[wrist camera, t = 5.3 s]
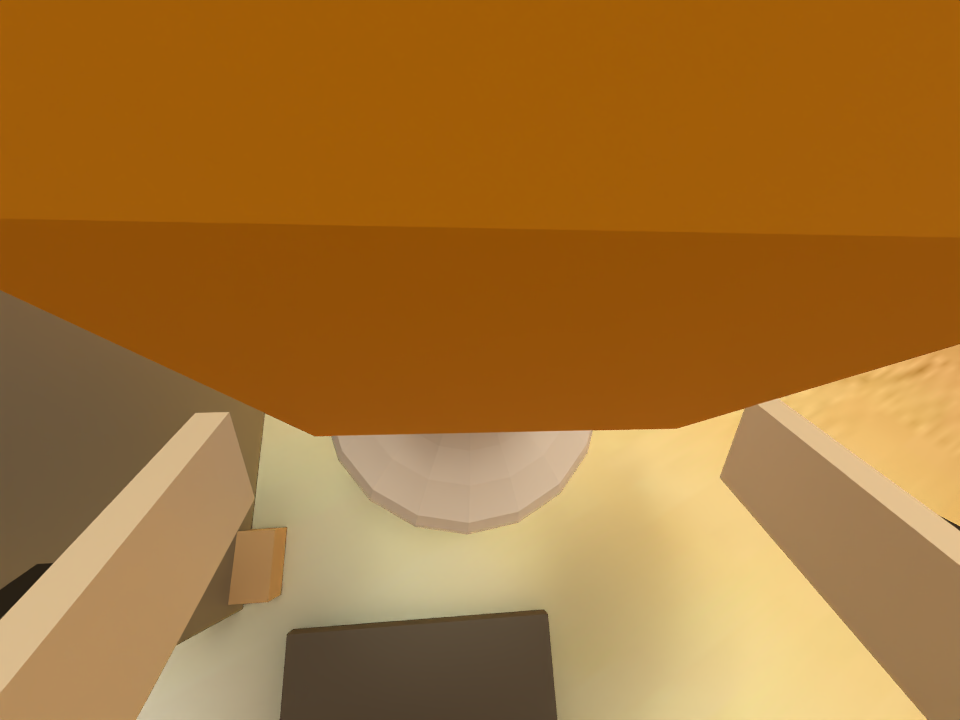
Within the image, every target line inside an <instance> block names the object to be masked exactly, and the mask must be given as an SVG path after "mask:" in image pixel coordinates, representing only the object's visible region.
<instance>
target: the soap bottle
mask: <svg viewBox="0 0 960 720" xmlns="http://www.w3.org/2000/svg"><path fill="white" fill-rule="evenodd" d="M0 290H1V291H3V292H5V293H7V294H9V295H12V296H14V297H16V298H18V299H20V300H22V301H25V302H27V303H29V304H31V305H33V306H35V307H37V308H40V309H42V310H44V311H46V312H48V313H50V314H53V315H55V316H57V317H59V318H61V319H63V320H65V321H68V322H70V323H72V324H74V325H76V326H78V327H81V328H83V329H85V330H87V331H89V332H91V333H94V334H96V335H98V336H100V337H102V338H104V339H106V340H109V341H111V342H113V343H115V344H117V345H119V346H122V347H124V348H126V349H128V350H130V351H132V352H134V353H137V354H139V355H141V356H143V357H145V358H147V359H150V360H152V361H154V362H156V363H158V364H160V365H162V366H165V367H167V368H169V369H171V370H173V371H175V372H178V373H180V374H182V375H184V376H186V377H188V378H190V379H193V380H195V381H197V382H199V383H201V384H203V385H206V386H208V387H210V388H212V389H214V390H216V391H218V392H221V393H223V394H225V395H227V396H229V397H231V398H234V399H236V400H238V401H240V402H242V403H244V404H246V405H249V406H251V407H253V408H255V409H257V410H259V411H262V412H264V413H266V414H268V415H270V416H272V417H274V418H277V419H279V420H281V421H283V422H285V423H287V424H290V425H292V426H294V427H296V428H298V429H300V430H302V431H305V432H307V433H309V434H311V435H313V436H332V440H333V443H334V447H335V450H336V453H337V457H338V460H339V461H340V463H341V464H342V465H343V466H344V468H345V469H346V470H347V471H348V473H349V474H350V475H351V477H352V478H353V479H354V480H355V482H356V483H357V484H358V486H359V487H360V488H361V489H362V491H363V492H364V493H365V494H366V496H367V497H368V498H369V500H371V501H372V502H374V503H376V504H378V505H379V506H381V507H383V508H384V509H386V510H388V511H390V512H391V513H393V514H395V515H396V516H398V517H400V518H402V519H403V520H405V521H407V522H409V523H410V524H412V525H414V526H416V527H423V528H429V529H436V530H443V531H450V532H456V533H463V534H470V533H475V532H479V531H483V530H488V529H492V528H496V527H500V526H505V525H509V524H513V523H518V522H520V521H521V520H522V519H524V518H525V517H527V516H528V515H530V514H531V513H533V512H534V511H536V510H537V509H538V508H540V507H541V506H543V505H544V504H546V503H547V502H549V501H550V500H551V499H553V498H554V497H556V496H557V495H559V494H560V493H561V491H562V490H563V488H564V487H565V485H566V484H567V483H568V481H569V480H570V478H571V477H572V475H573V474H574V472H575V471H576V469H577V468H578V466H579V465H580V463H581V462H582V460H583V459H584V457H585V456H586V454H587V452H588V448H589V444H590V439H591V435H592V431H593V430H631V429H677V428H680V427H684V426H687V425H690V424H694V423H697V422H700V421H704V420H707V419H710V418H714V417H717V416H720V415H724V414H727V413H731V412H734V411H737V410H741V409H744V408H747V407H751V406H754V405H757V404H761V403H764V402H767V401H771V400H774V399H777V398H781V397H784V396H787V395H791V394H794V393H798V392H801V391H804V390H808V389H811V388H814V387H818V386H821V385H824V384H828V383H831V382H834V381H838V380H841V379H844V378H848V377H851V376H854V375H858V374H861V373H865V372H868V371H871V370H875V369H878V368H881V367H885V366H888V365H891V364H895V363H898V362H901V361H905V360H908V359H911V358H915V357H918V356H921V355H925V354H928V353H931V352H935V351H938V350H942V349H945V348H948V347H952V346H955V345H958V344H960V0H0Z"/></svg>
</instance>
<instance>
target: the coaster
mask: <svg viewBox="0 0 960 720" xmlns="http://www.w3.org/2000/svg"><path fill="white" fill-rule="evenodd" d="M280 720H557V712H556V701H555V690H554V678H553V667H552V656H551V645H550V633H549V622H548V614H547V613H546V611H545V610H534V611H521V612H508V613H496V614H483V615H470V616H457V617H444V618H432V619H419V620H406V621H393V622H381V623H368V624H355V625H342V626H330V627H317V628H304V629H293V630H292V631H291V632H290V633H288V634H287V641H286V653H285V665H284V678H283V690H282V702H281V714H280Z"/></svg>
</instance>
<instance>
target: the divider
mask: <svg viewBox="0 0 960 720" xmlns="http://www.w3.org/2000/svg"><path fill="white" fill-rule="evenodd" d="M211 412H229V413H230V416H231V419H232V423H233V426H234V430H235V433H236V436H237V440H238V443H239V446H240V450H241V453H242V457H243V460H244V463H245V467H246V470H247V474H248V477H249V480H250V484H251V487H252V490H253V494H254V497H255V493H256V485H257V476H258V467H259V458H260V449H261V440H262V431H263V422H264V414H265V413H264V412H262V411H259V410H257V409H255V408H253V407H251V406H249V405H246V404H244V403H242V402H240V401H238V400H236V399H234V398H231V397H229V396H227V395H225V394H223V393H221V392H218V391H216V390H214V389H212V388H210V387H208V386H206V385H203V384H201V383H199V382H197V381H195V380H193V379H190V378H188V377H186V376H184V375H182V374H180V373H178V372H175V371H173V370H171V369H169V368H167V367H165V366H162V365H160V364H158V363H156V362H154V361H152V360H150V359H147V358H145V357H143V356H141V355H139V354H137V353H134V352H132V351H130V350H128V349H126V348H124V347H122V346H119V345H117V344H115V343H113V342H111V341H109V340H106V339H104V338H102V337H100V336H98V335H96V334H94V333H91V332H89V331H87V330H85V329H83V328H81V327H78V326H76V325H74V324H72V323H70V322H68V321H65V320H63V319H61V318H59V317H57V316H55V315H53V314H50V313H48V312H46V311H44V310H42V309H40V308H37V307H35V306H33V305H31V304H29V303H27V302H25V301H22V300H20V299H18V298H16V297H14V296H12V295H9V294H7V293H5V292H3V291H1V290H0V589H2V588H3V587H5V586H6V585H7V584H9V583H10V582H12V581H13V580H15V579H16V578H18V577H19V576H20V575H22V574H23V573H25V572H26V571H28V570H29V569H30V568H32V567H33V566H35V565H36V564H45V563H54V562H55V561H56V560H57V559H58V558H59V557H60V556H61V555H62V554H63V553H64V552H65V551H66V550H67V549H68V547H69V546H70V545H71V544H72V543H73V542H74V541H75V540H76V539H77V538H78V537H79V536H80V535H81V534H82V533H83V532H84V530H85V529H86V528H87V527H88V526H89V525H90V524H91V523H92V522H93V521H94V520H95V519H96V518H97V517H98V516H99V515H100V514H101V512H102V511H103V510H104V509H105V508H106V507H107V506H108V505H109V504H110V503H111V502H112V501H113V500H114V499H115V498H116V497H117V495H118V494H119V493H120V492H121V491H122V490H123V489H124V488H125V487H126V486H127V485H128V484H129V483H130V482H131V481H132V480H133V479H134V477H135V476H136V475H137V474H138V473H139V472H140V471H141V470H142V469H143V468H144V467H145V466H146V465H147V464H148V463H149V462H150V460H151V459H152V458H153V457H154V456H155V455H156V454H157V453H158V452H159V451H160V450H161V449H162V448H163V447H164V446H165V445H166V444H167V442H168V441H169V440H170V439H171V438H172V437H173V436H174V435H175V434H176V433H177V432H178V431H179V430H180V429H181V428H182V427H183V425H184V424H185V423H186V422H187V421H188V420H189V419H190V418H191V417H192V416H193V415H194V414H195V413H211ZM254 502H255V499H254V501H253V503H252V505H251V507H250V509H249V510H248V512H247V514H246V516H245V518H244V520H243V522H242V523H241V525H240V527H239V529H238V531H237V533H236V535H235V536H234V538H233V540H232V542H231V544H230V546H229V548H228V549H227V551H226V553H225V555H224V557H223V559H222V561H221V562H220V564H219V566H218V568H217V570H216V572H215V574H214V576H213V577H212V579H211V581H210V583H209V585H208V587H207V589H206V590H205V592H204V594H203V596H202V598H201V600H200V602H199V603H198V605H197V607H196V609H195V611H194V613H193V615H192V616H191V618H190V620H189V622H188V624H187V626H186V628H185V629H184V631H183V633H182V635H181V637H180V639H179V641H178V642H177V644H176V645H178V644H180V643H181V642H183V641H185V640H187V639H189V638H191V637H192V636H194V635H196V634H198V633H200V632H202V631H203V630H205V629H207V628H209V627H211V626H212V625H214V624H216V623H218V622H220V621H222V620H223V619H225V618H227V617H229V616H231V615H233V614H234V613H236V612H238V611H240V610H242V609H243V604H247V603H261V602H269V601H271V600H272V599H274V598H276V597H278V596H279V595H281V588H282V576H283V565H284V554H285V542H286V531H287V527H283V528H266V529H252V520H253V511H254Z"/></svg>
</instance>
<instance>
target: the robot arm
mask: <svg viewBox="0 0 960 720" xmlns="http://www.w3.org/2000/svg"><path fill="white" fill-rule="evenodd" d="M720 479H721V480H722V481H723V482H724V483H725V484H726V486H727V487H728V488H729V489H730V490H731V491H732V493H733V494H734V495H735V496H736V497H737V498H738V499H739V501H740V502H741V503H742V504H743V505H744V506H745V508H746V509H747V510H748V511H749V512H750V513H751V515H752V516H753V517H754V518H755V519H756V520H757V522H758V523H759V524H760V525H761V526H762V527H763V529H764V530H765V531H766V532H767V533H768V534H769V536H770V537H771V538H772V539H773V540H774V541H775V543H776V544H777V545H778V546H779V547H780V548H781V550H782V551H783V552H784V553H785V554H786V555H787V557H788V558H789V559H790V560H791V561H792V562H793V564H794V565H795V566H796V567H797V568H798V569H799V571H800V572H801V573H802V574H803V575H804V576H805V578H806V579H807V580H808V581H809V582H810V583H811V585H812V586H813V587H814V588H815V589H816V590H817V592H818V593H819V594H820V595H821V596H822V597H823V599H824V600H825V601H826V602H827V603H828V604H829V605H830V607H831V608H832V609H833V610H834V611H835V612H836V614H837V615H838V616H839V617H840V618H841V619H842V621H843V622H844V623H845V624H846V625H847V626H848V628H849V629H850V630H851V631H852V632H853V633H854V635H855V636H856V637H857V638H858V639H859V640H860V642H861V643H862V644H863V645H864V646H865V647H866V649H867V650H868V651H869V652H870V653H871V654H872V656H873V657H874V658H875V659H876V660H877V661H878V663H879V664H880V665H881V666H882V667H883V668H884V670H885V671H886V672H887V673H888V674H889V675H890V677H891V678H892V679H893V680H894V681H895V682H896V684H897V685H898V686H899V687H900V688H901V689H902V691H903V692H904V693H905V694H906V695H907V696H908V698H909V699H910V700H911V701H912V702H913V703H914V704H915V706H916V707H917V708H918V709H919V710H920V711H921V713H922V714H923V715H924V716H925V717H926V718H927V720H960V526H958V525H956V524H954V523H952V522H950V521H948V520H947V519H945V518H943V517H941V516H939V515H937V514H936V513H935V512H933V511H932V510H931V509H929V508H928V507H926V506H925V505H924V504H922V503H921V502H920V501H918V500H917V499H915V498H914V497H913V496H911V495H910V494H909V493H907V492H906V491H904V490H903V489H902V488H900V487H899V486H898V485H896V484H895V483H893V482H892V481H891V480H889V479H888V478H887V477H885V476H884V475H883V474H881V473H880V472H878V471H877V470H876V469H874V468H873V467H872V466H870V465H869V464H867V463H866V462H865V461H863V460H862V459H861V458H859V457H858V456H856V455H855V454H854V453H852V452H851V451H850V450H848V449H847V448H845V447H844V446H843V445H841V444H840V443H839V442H837V441H836V440H834V439H833V438H832V437H830V436H829V435H828V434H826V433H825V432H823V431H822V430H821V429H819V428H818V427H817V426H815V425H814V424H813V423H811V422H810V421H808V420H807V419H806V418H804V417H803V416H802V415H800V414H799V413H797V412H796V411H795V410H793V409H792V408H791V407H789V406H788V405H786V404H785V403H784V402H782V401H781V400H780V399H778V398H777V399H774V400H771V401H767V402H764V403H761V404H757V405H754V406H751V407H747V408H745V409H744V412H743V415H742V417H741V420H740V423H739V426H738V428H737V431H736V434H735V437H734V439H733V442H732V445H731V448H730V450H729V453H728V456H727V459H726V461H725V464H724V467H723V470H722V472H721V475H720ZM254 499H255V497H254V494H253V490H252V487H251V484H250V480H249V477H248V474H247V470H246V467H245V463H244V460H243V457H242V453H241V450H240V446H239V443H238V440H237V436H236V433H235V430H234V426H233V423H232V419H231V416H230V413H229V412H211V413H195V414H194V415H193V416H192V417H191V418H190V419H189V420H188V421H187V422H186V423H185V424H184V425H183V427H182V428H181V429H180V430H179V431H178V432H177V433H176V434H175V435H174V436H173V437H172V438H171V439H170V440H169V441H168V442H167V444H166V445H165V446H164V447H163V448H162V449H161V450H160V451H159V452H158V453H157V454H156V455H155V456H154V457H153V458H152V459H151V460H150V462H149V463H148V464H147V465H146V466H145V467H144V468H143V469H142V470H141V471H140V472H139V473H138V474H137V475H136V476H135V477H134V479H133V480H132V481H131V482H130V483H129V484H128V485H127V486H126V487H125V488H124V489H123V490H122V491H121V492H120V493H119V494H118V495H117V497H116V498H115V499H114V500H113V501H112V502H111V503H110V504H109V505H108V506H107V507H106V508H105V509H104V510H103V511H102V512H101V514H100V515H99V516H98V517H97V518H96V519H95V520H94V521H93V522H92V523H91V524H90V525H89V526H88V527H87V528H86V529H85V530H84V532H83V533H82V534H81V535H80V536H79V537H78V538H77V539H76V540H75V541H74V542H73V543H72V544H71V545H70V546H69V547H68V549H67V550H66V551H65V552H64V553H63V554H62V555H61V556H60V557H59V558H58V559H57V560H56V561H55V562H54V563H45V564H36V565H35V566H33V567H32V568H30V569H29V570H28V571H26V572H25V573H23V574H22V575H20V576H19V577H18V578H16V579H15V580H13V581H12V582H10V583H9V584H7V585H6V586H5V587H3V588H2V589H0V720H136V719H137V717H138V715H139V713H140V711H141V709H142V708H143V706H144V704H145V702H146V700H147V698H148V696H149V695H150V693H151V691H152V689H153V687H154V685H155V683H156V682H157V680H158V678H159V676H160V674H161V672H162V670H163V669H164V667H165V665H166V663H167V661H168V659H169V657H170V656H171V654H172V652H173V650H174V648H175V646H176V644H177V642H178V641H179V639H180V637H181V635H182V633H183V631H184V629H185V628H186V626H187V624H188V622H189V620H190V618H191V616H192V615H193V613H194V611H195V609H196V607H197V605H198V603H199V602H200V600H201V598H202V596H203V594H204V592H205V590H206V589H207V587H208V585H209V583H210V581H211V579H212V577H213V576H214V574H215V572H216V570H217V568H218V566H219V564H220V562H221V561H222V559H223V557H224V555H225V553H226V551H227V549H228V548H229V546H230V544H231V542H232V540H233V538H234V536H235V535H236V533H237V531H238V529H239V527H240V525H241V523H242V522H243V520H244V518H245V516H246V514H247V512H248V510H249V509H250V507H251V505H252V503H253V501H254Z"/></svg>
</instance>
